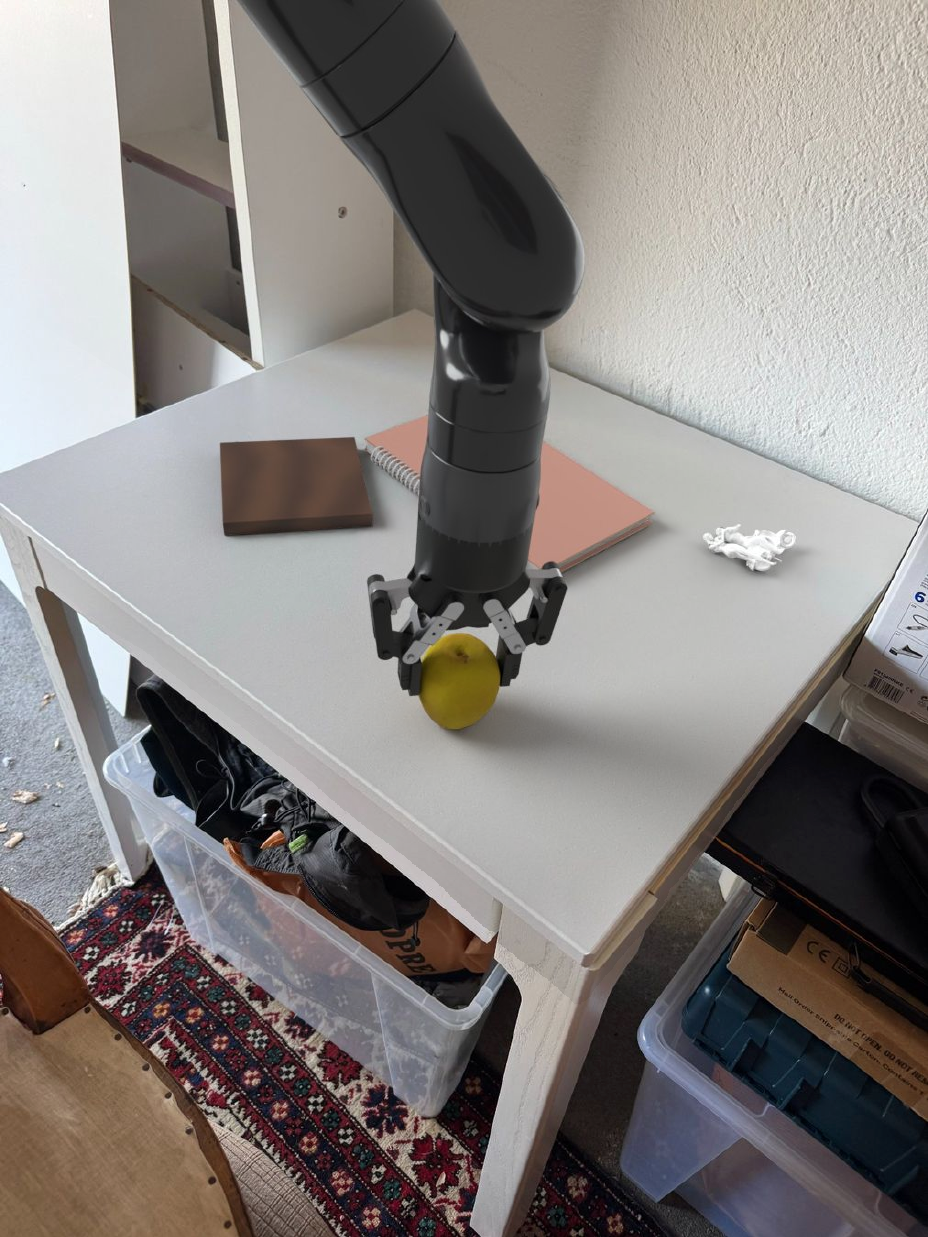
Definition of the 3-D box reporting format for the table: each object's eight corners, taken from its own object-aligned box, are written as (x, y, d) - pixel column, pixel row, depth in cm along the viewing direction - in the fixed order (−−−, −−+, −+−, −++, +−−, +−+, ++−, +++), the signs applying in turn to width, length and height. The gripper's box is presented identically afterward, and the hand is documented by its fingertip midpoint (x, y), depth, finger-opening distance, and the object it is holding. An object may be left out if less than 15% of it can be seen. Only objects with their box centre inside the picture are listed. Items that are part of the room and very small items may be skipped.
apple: (460, 760, 69) (469, 687, 64) (397, 717, 72) (400, 643, 67) (511, 713, 73) (523, 641, 68) (449, 673, 76) (456, 601, 71)
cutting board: (224, 535, 87) (222, 522, 86) (220, 454, 97) (219, 442, 96) (372, 526, 90) (372, 514, 89) (354, 448, 100) (354, 436, 99)
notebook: (356, 454, 99) (356, 438, 98) (473, 410, 108) (475, 395, 106) (533, 589, 85) (535, 572, 83) (651, 525, 94) (655, 509, 92)
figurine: (690, 553, 91) (733, 518, 96) (760, 589, 88) (801, 551, 92) (696, 528, 89) (740, 494, 94) (768, 565, 86) (809, 527, 90)
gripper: (567, 464, 63) (534, 641, 74) (357, 475, 60) (356, 657, 71) (602, 531, 58) (561, 710, 69) (373, 546, 55) (369, 731, 66)
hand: (457, 682), depth 70 cm, fingers closed on apple, 6 cm apart
